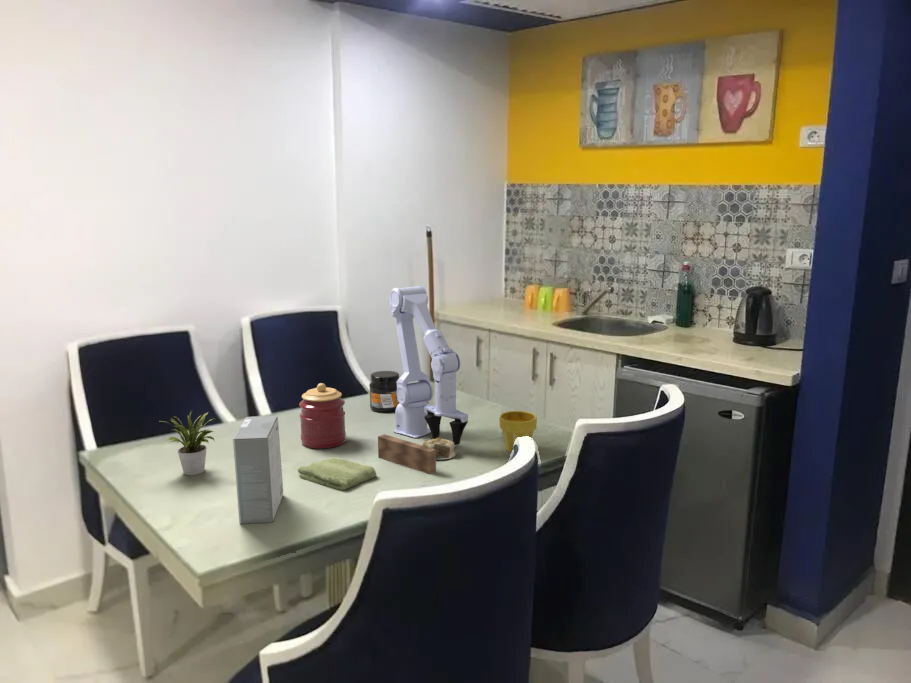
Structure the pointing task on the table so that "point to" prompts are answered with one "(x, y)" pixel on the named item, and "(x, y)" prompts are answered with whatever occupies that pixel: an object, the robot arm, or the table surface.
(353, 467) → the washcloth
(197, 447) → the house plant
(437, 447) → the cake
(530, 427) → the plant pot
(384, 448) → the walnut board
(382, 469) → the table surface
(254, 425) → the hard drive box
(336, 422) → the canister
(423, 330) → the robot arm
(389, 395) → the supplement container
